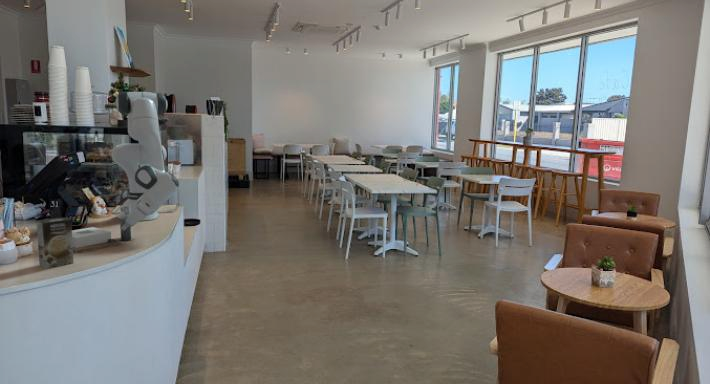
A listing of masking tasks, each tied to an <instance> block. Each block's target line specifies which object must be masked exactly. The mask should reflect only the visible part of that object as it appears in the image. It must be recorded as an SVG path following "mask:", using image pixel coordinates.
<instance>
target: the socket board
mask: <svg viewBox="0 0 710 384" xmlns="http://www.w3.org/2000/svg"><path fill="white" fill-rule="evenodd" d="M119 245H122V241H121V240H117V239H116V238H111V239H108V242H104V243H99V244H94V245H89V246H84V247H79V248H75V247H73V254H74V253H75V254H79V252H80V253H84V251H85V252H89V250H90V251H93V250H94V249H95V250H99V248H100V249H104V248H108V247H114V246H119Z"/></svg>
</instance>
